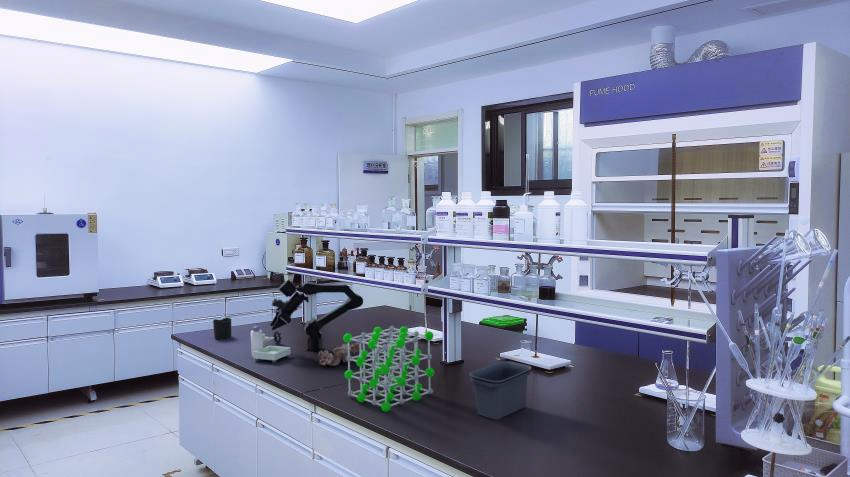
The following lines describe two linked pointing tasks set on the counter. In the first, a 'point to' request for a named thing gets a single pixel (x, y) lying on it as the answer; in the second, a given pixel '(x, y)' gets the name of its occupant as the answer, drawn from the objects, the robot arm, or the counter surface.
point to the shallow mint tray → (271, 353)
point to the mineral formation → (337, 354)
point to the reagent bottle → (256, 339)
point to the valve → (271, 338)
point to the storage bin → (500, 388)
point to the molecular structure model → (388, 365)
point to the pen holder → (222, 328)
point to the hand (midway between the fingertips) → (271, 327)
